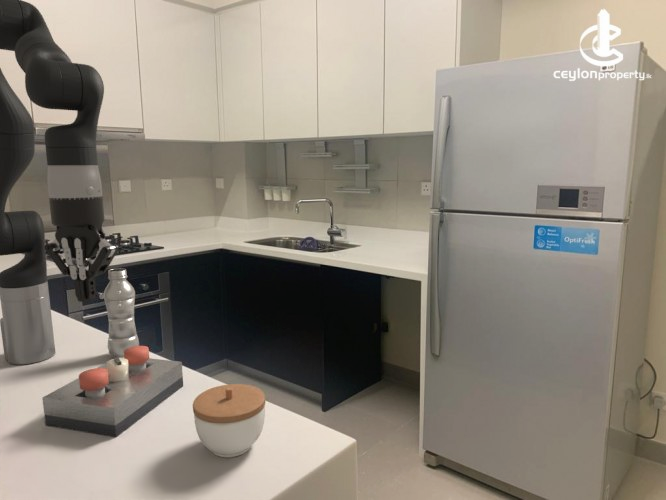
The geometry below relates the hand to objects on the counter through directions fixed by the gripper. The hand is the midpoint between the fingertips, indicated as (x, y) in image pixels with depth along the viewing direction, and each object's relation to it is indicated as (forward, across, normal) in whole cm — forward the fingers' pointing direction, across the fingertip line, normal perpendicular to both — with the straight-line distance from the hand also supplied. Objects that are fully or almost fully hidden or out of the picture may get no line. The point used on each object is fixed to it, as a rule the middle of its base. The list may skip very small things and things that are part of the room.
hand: (86, 300), depth 80 cm
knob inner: (+19, 0, -11) cm, 22 cm away
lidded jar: (+21, -26, +2) cm, 34 cm away
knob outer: (+19, 0, 0) cm, 19 cm away
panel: (+21, 0, -5) cm, 22 cm away
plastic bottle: (+21, +15, -25) cm, 36 cm away
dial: (+16, 0, -5) cm, 17 cm away
